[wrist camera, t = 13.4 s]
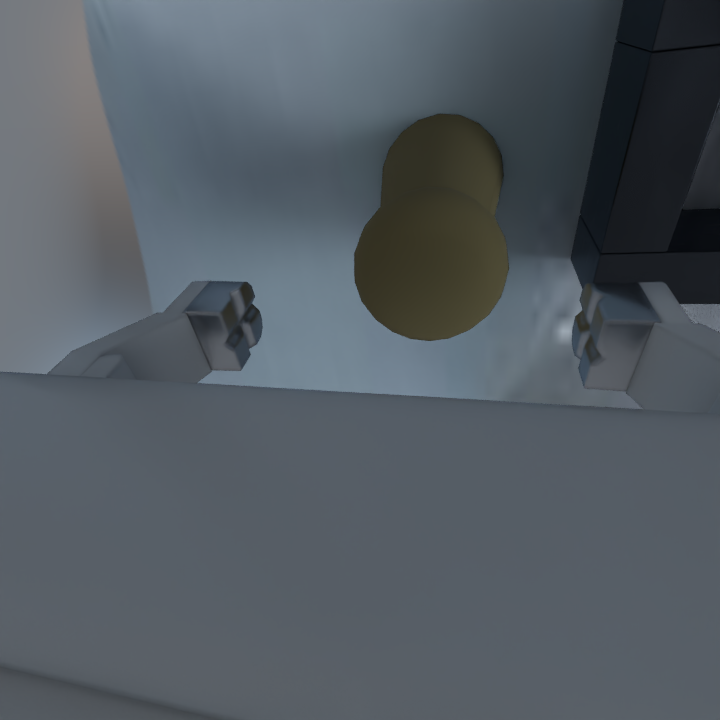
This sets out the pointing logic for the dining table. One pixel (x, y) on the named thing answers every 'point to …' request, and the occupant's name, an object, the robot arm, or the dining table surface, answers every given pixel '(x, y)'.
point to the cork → (435, 232)
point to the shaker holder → (654, 154)
